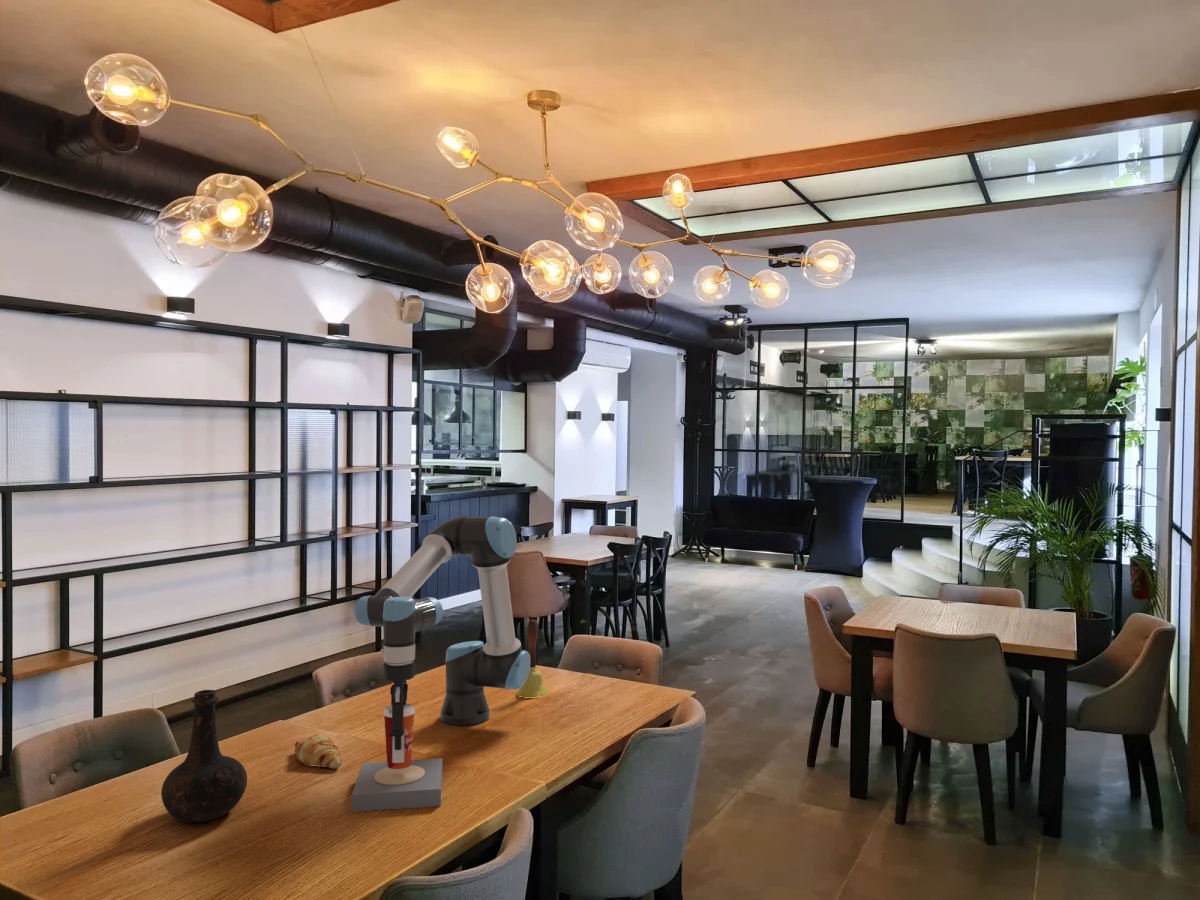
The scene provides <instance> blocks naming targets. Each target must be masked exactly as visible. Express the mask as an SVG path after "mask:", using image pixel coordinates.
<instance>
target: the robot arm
mask: <svg viewBox="0 0 1200 900" xmlns="http://www.w3.org/2000/svg"><path fill="white" fill-rule="evenodd" d="M514 527H515V526H514V525H513V524H512V522H511V521H509V519H507V518H506V517H499V516H498V517H497V516H493V515H492V516H468V515H467V516H456V517H453V518H450V519H449V520H446V521H445V522H443V523H440V524H439V525H438V526H436V527H435V528H434V529H432V530H431V531H430V532H429V533H428V534H427V535H426V536H425V537H424V539H422V542H421V546H420V547H419V548H418V549H417V550H416V551H415V553H413V555H412V556H411V557H410V558H409V559H408V560H407V561H405V563H403V565H402V566H401V567H400V568H399V569H398V570H397V572H395V573H394V575H392V577H391V578H390V579H389V580H387V582H386V583H385V584H384V585H383V586H382V587H381V588H380V589H379V591H377V592H376V594H374V595H367V596H366V595H365V596H361V597H360V598H359V599H358V600H357V601H356V604H355V608H354V616H355V619H356V622H358V623H359V624H360V625H364V626H370V627H382V628H383V642H382V643H383V648H381V649H380V652H381V654H382V653H383V662H384V663H383V668H382V670H383V673H382V674H383V675H382V676H383V677H382V678H383V679H384V680H386V681H389V682H390V681H391V682H393V684H391V687H390V689H389V690H390V691H389V693H390V697H391V699H390V700H391V701H390V705H392V734H389V736H392V763H402V762H404V732H403V725H404V717H403V715H404V706H405V705H406V704H407V701H408V690H409V683H407V681H409V680H411V679H414V677H415V676H416V662H415V659H416V642H415V641H416V640H415V639H416V633H418V632H421V631H424V630H426V629H430V628H432V627H434V626H436V625H437V624H439V623H440V622H441V620H442V619H443V616H444V608H443V606H442V603H441V602H440V601H439V599H437V598H436V597H433V596H432V597H431V596H430V597H429V596H428V597H422V598H419V599H418V598H413V596H414V595H415V593H417V592H418V590H419V589H420V588H421V587H422V586H423V585H424V583H425V582H427V580H428V579H429V578H430V577H431V576H432V575H433V573H435V571H437V569H438V568H439V567H440V566H441V564H445V563H447V562H449V561H450V560H451V558H453V557H457V556H463V557H465V556H467V557H470V560H471V565H472V566H473V567H474V568H476V570H477V574H478V581H479V588H480V596H481V605H482V611H483V622H484V629H485V630H484V631H485V637H486V642H485V644H484V642H483V641H482V640H469V641H463V642H459V643H454V644H453V645H450V646H449V647H448V648H447V649H446V651H445V661H444V662H445V696H444V700H443V702H442V706H441V709H440V713H439V714H440V715H439V717H440V721H441V723H444V724H447V725H452V726H471V725H476V724H480V723H483V722H486V721H487V720H488V719H490V713H491V712H490V706H489V703H488V701H487V698H486V695H485V689H484V688H493V689H494V688H495V689H501V690H502V689H503V690H507V691H508V690H518V689H519V688H521V687H522V686H523V685H524V683H525V681H526V679H527V677H528V674H529V670H530V654H529V652H528V650H527V651H526V650H525V649H524V650H523V649H522V648H523V647H522V642H521V641H520V640H519V639H518V638H517V637H516V632H515V626H514V625H515V624H514V616H513V607H512V599H511V598H512V597H511V592H510V591H511V590H510V584H509V582H510V581H509V575H508V566H507V565H508V564H509V563H510V562H511V560H512V558H511V557H513V556H514V554H515V552H516V550H517V546H516V545H517V543H518V539H517V533H516V529H515V528H514Z"/></svg>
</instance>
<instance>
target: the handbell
mask: <svg viewBox="0 0 1200 900" xmlns="http://www.w3.org/2000/svg"><path fill="white" fill-rule="evenodd" d="M526 638H527V642H528V647H529V648H528V650H529V652H528V653H529V654H530V670H529V674H528V677H527V679H526V681H525V683H524V685H523V686H522V687H521V688H519V689H516V691H515V693H514V695H515V694H516V695H518V696H522V697H536V696H543V695H546V694H548V693H549V692H550V693H551V690H550V689H549V688H547V687H546V686H545V685H544V683H543V674H542V671H540V670H538V669H537V665H536V664H537V663H536V661H537V660H536V657H537V656H536V653H537V652H536V649H537V647H536V645H537V641H538V626H537V622H536V620H535V619H531V620H528V625H527V637H526Z"/></svg>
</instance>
